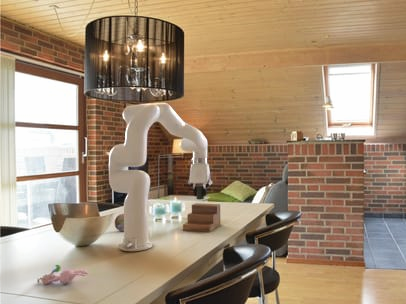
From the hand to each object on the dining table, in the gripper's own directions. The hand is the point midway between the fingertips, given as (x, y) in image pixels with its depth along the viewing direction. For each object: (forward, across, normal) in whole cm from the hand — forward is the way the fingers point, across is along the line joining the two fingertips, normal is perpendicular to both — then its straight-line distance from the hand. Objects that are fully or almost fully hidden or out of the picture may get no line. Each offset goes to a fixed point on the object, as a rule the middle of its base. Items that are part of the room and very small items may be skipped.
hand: (200, 195), depth 183 cm
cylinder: (+2, 0, 0) cm, 2 cm away
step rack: (+16, +3, -5) cm, 17 cm away
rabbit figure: (+17, -10, -84) cm, 87 cm away
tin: (+16, -32, -17) cm, 40 cm away
